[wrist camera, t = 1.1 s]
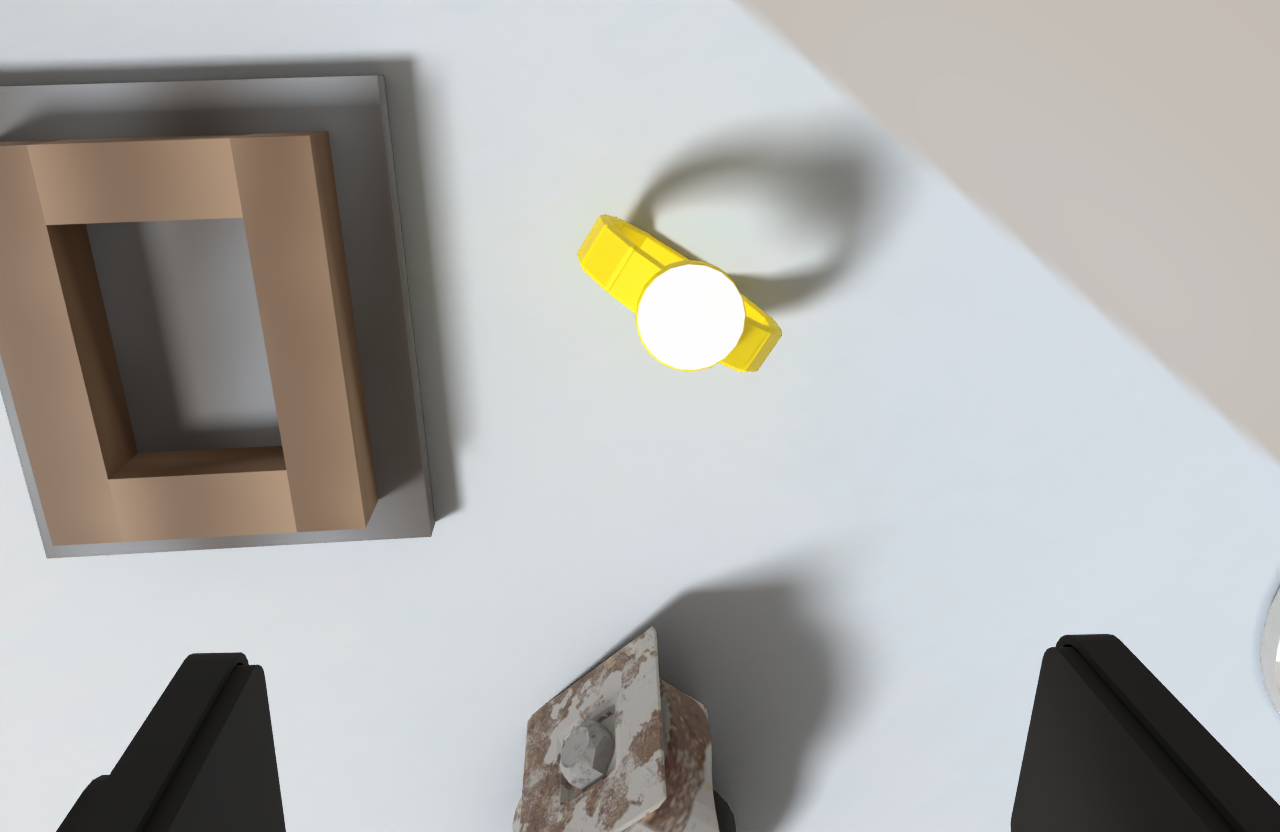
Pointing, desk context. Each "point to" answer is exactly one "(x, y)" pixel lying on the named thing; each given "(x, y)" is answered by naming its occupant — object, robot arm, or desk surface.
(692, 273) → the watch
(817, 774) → the desk surface
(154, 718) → the robot arm
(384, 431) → the frame
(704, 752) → the caster wheel
